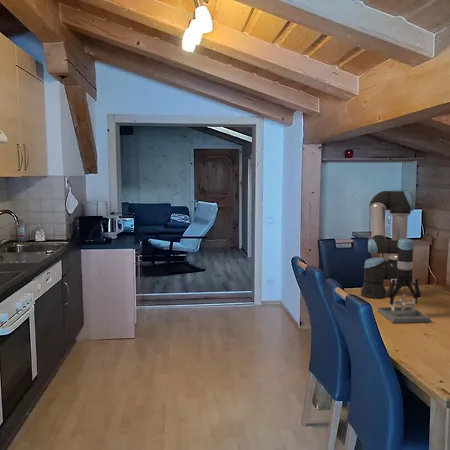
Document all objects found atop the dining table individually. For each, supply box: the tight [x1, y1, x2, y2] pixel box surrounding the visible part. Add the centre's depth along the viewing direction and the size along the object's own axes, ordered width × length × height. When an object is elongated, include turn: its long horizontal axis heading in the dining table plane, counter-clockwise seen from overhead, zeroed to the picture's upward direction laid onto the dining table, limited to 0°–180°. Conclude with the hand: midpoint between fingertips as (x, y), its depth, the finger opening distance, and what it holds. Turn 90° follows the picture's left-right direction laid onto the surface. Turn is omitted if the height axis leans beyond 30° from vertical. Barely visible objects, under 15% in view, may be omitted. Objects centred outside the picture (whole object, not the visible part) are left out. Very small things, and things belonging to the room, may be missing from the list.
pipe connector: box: [395, 293, 414, 313], centre depth 242 cm, size 10×10×10 cm
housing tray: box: [377, 306, 431, 325], centre depth 243 cm, size 20×19×2 cm
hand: (403, 310), depth 243 cm, fingers closed on pipe connector, 10 cm apart
